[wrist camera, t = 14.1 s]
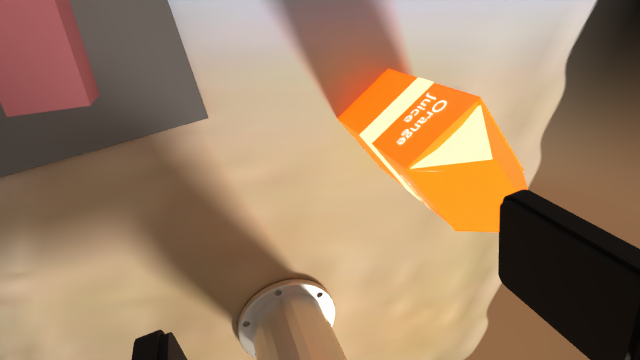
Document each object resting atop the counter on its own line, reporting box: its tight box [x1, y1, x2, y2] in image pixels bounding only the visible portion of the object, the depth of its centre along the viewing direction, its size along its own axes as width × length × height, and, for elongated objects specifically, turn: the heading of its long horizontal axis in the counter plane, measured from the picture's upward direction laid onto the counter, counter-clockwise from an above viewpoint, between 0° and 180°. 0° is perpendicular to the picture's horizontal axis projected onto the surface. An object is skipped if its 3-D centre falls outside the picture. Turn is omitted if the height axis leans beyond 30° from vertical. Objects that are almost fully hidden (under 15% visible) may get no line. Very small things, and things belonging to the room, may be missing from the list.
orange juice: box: [337, 69, 528, 232], centre depth 35 cm, size 8×9×20 cm
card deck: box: [0, 0, 100, 117], centre depth 29 cm, size 6×8×4 cm, turn 4°
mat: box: [0, 0, 208, 177], centre depth 31 cm, size 18×20×1 cm
